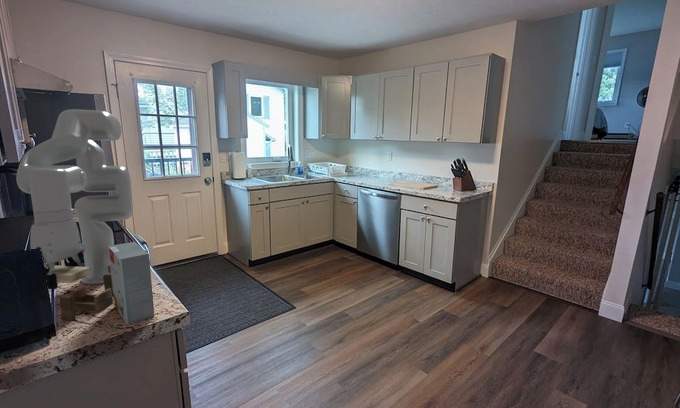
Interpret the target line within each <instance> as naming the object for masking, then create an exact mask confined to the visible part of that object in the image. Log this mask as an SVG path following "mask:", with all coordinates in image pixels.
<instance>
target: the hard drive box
mask: <svg viewBox="0 0 680 408" xmlns="http://www.w3.org/2000/svg"><path fill="white" fill-rule="evenodd" d="M145 250H146V249H143V248H142V246H140V245H139V244H138V243H136V242H135V241H131V242H126V243H119V244H114V245H113V246H108V252H109V260H110V268H111V277H112V287H113V295H114V296H113V304H114V307H115V309H116V310H117V311H118V312H119V313H118V314H120V316H121V318H122V320H123V321H124V322H125V324H126V325H130V324H133V322H134V323H136V322H140V321H143V320H147V319H149V318H152V317H154V316H155V307H154V305H155V304H154V296H153V293H154V292H153V284H152V283H153V282H152V273H151V262H150V254H149V252H148V253H147V252H146V251H145Z"/></svg>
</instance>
